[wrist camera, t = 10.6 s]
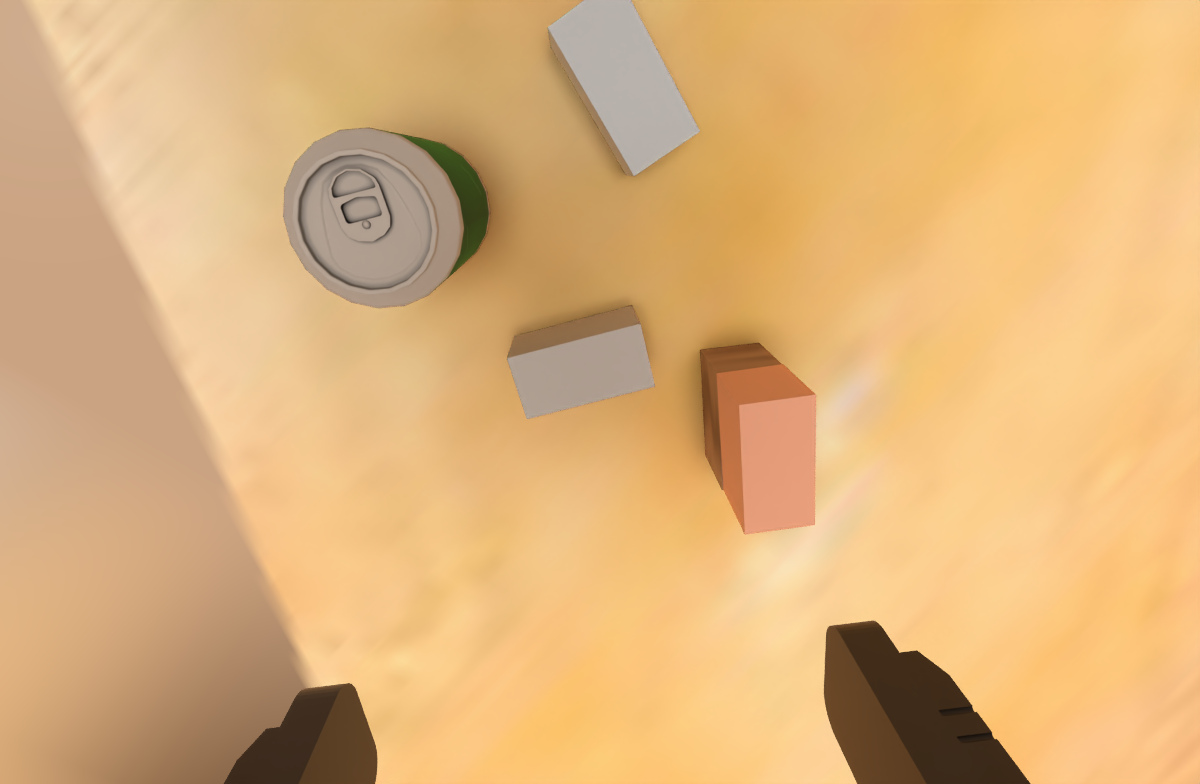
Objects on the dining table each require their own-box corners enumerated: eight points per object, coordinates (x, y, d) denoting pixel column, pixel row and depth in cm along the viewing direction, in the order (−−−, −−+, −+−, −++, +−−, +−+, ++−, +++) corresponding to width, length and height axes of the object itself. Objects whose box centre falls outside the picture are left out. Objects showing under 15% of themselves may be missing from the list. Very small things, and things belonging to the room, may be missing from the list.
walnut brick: (700, 349, 39) (717, 373, 35) (758, 342, 40) (784, 366, 35) (705, 454, 42) (722, 490, 38) (759, 448, 42) (783, 482, 38)
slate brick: (531, 390, 40) (526, 419, 35) (514, 335, 39) (506, 358, 34) (645, 360, 40) (655, 386, 35) (631, 304, 38) (640, 323, 34)
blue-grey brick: (550, 47, 33) (547, 27, 28) (610, 3, 32) (617, -25, 27) (625, 175, 35) (634, 176, 31) (682, 136, 35) (700, 131, 30)
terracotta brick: (716, 373, 35) (739, 405, 30) (782, 364, 35) (815, 394, 30) (723, 489, 38) (744, 534, 33) (784, 480, 38) (814, 524, 33)
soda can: (470, 125, 34) (420, 103, 23) (507, 253, 37) (480, 290, 25) (346, 157, 34) (237, 152, 23) (393, 282, 37) (315, 332, 26)
